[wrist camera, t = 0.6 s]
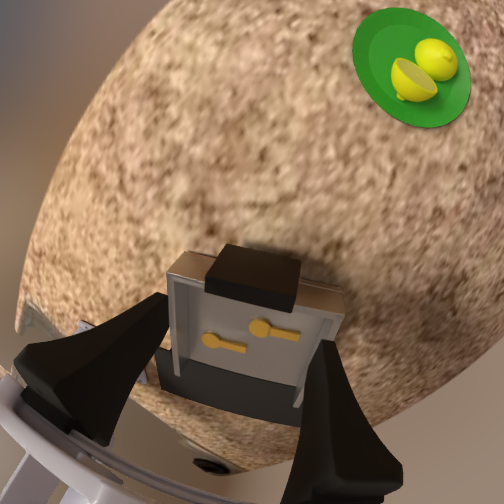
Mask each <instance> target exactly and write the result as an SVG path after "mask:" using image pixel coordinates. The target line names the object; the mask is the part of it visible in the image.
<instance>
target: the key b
mask: <svg viewBox="0 0 504 504" xmlns="http://www.w3.org/2000/svg"><path fill="white" fill-rule="evenodd" d="M249 330H250V332H251V333H252V334H253V335H254V336H257V337H262V338H263V337H267V336H269V335H270V336H274V337H279V338H283V339H288V340H292V341H297V342H298V341H299V338H300V335H301V333H299V332H295V331H290V330H286V329H281V328H277V327H273V326H271V324H270V323H269V322H267V321H266V320H263V319H255V320H253V321H252V322H251V323H250V326H249Z"/></svg>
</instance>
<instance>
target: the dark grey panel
mask: <svg viewBox="0 0 504 504" xmlns="http://www.w3.org/2000/svg"><path fill="white" fill-rule="evenodd" d="M154 355H155V360H156V366H157V371H158V376H159V381H160V385H161V389H162V390H164V391H167V392H170V393H172V394H175V395H178V396H180V397H183V398H186V399H189V400H192V401H195V402H198V403H201V404H204V405H208V406H211V407H214V408H217V409H221V410H224V411H228V412H232V413H235V414H239V415H243V416H247V417H251V418H255V419H260V420H264V421H269V422H273V423H278V424H283V425H289V426H294V427H300V428H301V421H302V409H303V401H302V403H301V404H300V406H299V408H296V407H293V400H294V394H295V388H296V386H291V385H287V384H282V383H277V382H273V381H268V380H264V379H260V378H256V377H252V376H248V375H244V374H240V373H236V372H232V371H229V370H225V369H222V368H218V367H215V366H212V365H208V364H205V363H202V362H198V361H195V360H192V359H189V361H188V363H187V364H186V366H185V368H184V370H183V372H182V374H181V376H180V377H179V376H176V375H175V373H174V365H173V359H172V358H170V352H169V350H166V349H163V348H160V347H158V349H157V350H156V352H155V353H154Z"/></svg>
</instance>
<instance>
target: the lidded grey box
mask: <svg viewBox="0 0 504 504" xmlns="http://www.w3.org/2000/svg"><path fill="white" fill-rule="evenodd" d="M300 269H301V260H297V259H292V258H288V257H284V256H279V255H275V254H270V253H266V252H262V251H257V250H253V249H248V248H244V247H240V246H235V245H231V244H226V245H225V246H224V248H223V249H222V251H221V252H220V254H219V255H218V257H217V258H216V259H215V258H211V257H207V256H203V255H199V254H195V253H191V252H187V251H184V252H183V254H182V255H181V256H180V257H179V258H178V259H177V260H176V261H175V262H174V264H173V265H172V266H171V267H170V268H169V269H168V270H167V272H166V278H167V295H168V302H169V324H170V336H171V346H172V356H173V365H174V373H175V375H176V376H179V377H180V376H181V374H182V372H183V370H184V368H185V366H186V364H187V363H188V361H189V359H192V360H195V361H198V362H202V363H205V364H208V365H212V366H215V367H218V368H222V369H225V370H229V371H232V372H236V373H240V374H244V375H248V376H252V377H256V378H260V379H264V380H268V381H273V382H277V383H282V384H287V385H291V386H296V388H295V394H294V400H293V407H296V408H299V406H300V404H301V403H302V401H303V397H304V385H305V380H306V374H307V369H308V365H309V363H310V361H311V359H312V357H313V355H314V353H315V351H316V349H317V347H318V345H319V343H320V341H321V339H326V340H330V341H334V338H335V336H336V334H337V332H338V330H339V327H340V325H341V323H342V321H343V319H344V316H345V308H344V295H343V288H341V287H337V286H332V285H328V284H323V283H319V282H314V281H310V280H305V279H301V278H299V276H300ZM255 319H263V320H266V321H267V322H269V323H270V324H271V326H273V327H277V328H281V329H286V330H290V331H295V332H299V333H301V335H300V338H299V341H298V342H297V341H292V340H288V339H283V338H279V337H274V336H270V335H269V336H267V337H263V338H262V337H257V336H254V335H253V334H252V333H251V332H250V330H249V326H250V323H251V322H252V321H253V320H255ZM205 332H212V333H215V334H217V335H218V336H219V337H220V339H223V340H227V341H231V342H234V343H238V344H242V345H246V346H247V349H246V353H245V354H244V353H241V352H237V351H233V350H229V349H226V348H222V347H218V348H210V347H207V346H206V345H204V344H203V342H202V340H201V337H202V335H203V333H205Z"/></svg>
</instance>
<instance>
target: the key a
mask: <svg viewBox="0 0 504 504" xmlns="http://www.w3.org/2000/svg"><path fill="white" fill-rule="evenodd" d="M201 340H202V342H203V344H204V345H206V346H207V347H210V348H218V347H222V348H226V349H229V350H233V351H237V352H241V353H244V354H245V353H246V349H247V346H246V345H242V344H238V343H234V342H231V341H227V340H223V339H220V337H219V336H218V335H217V334H215V333H212V332H205V333H203V335H202V337H201Z"/></svg>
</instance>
